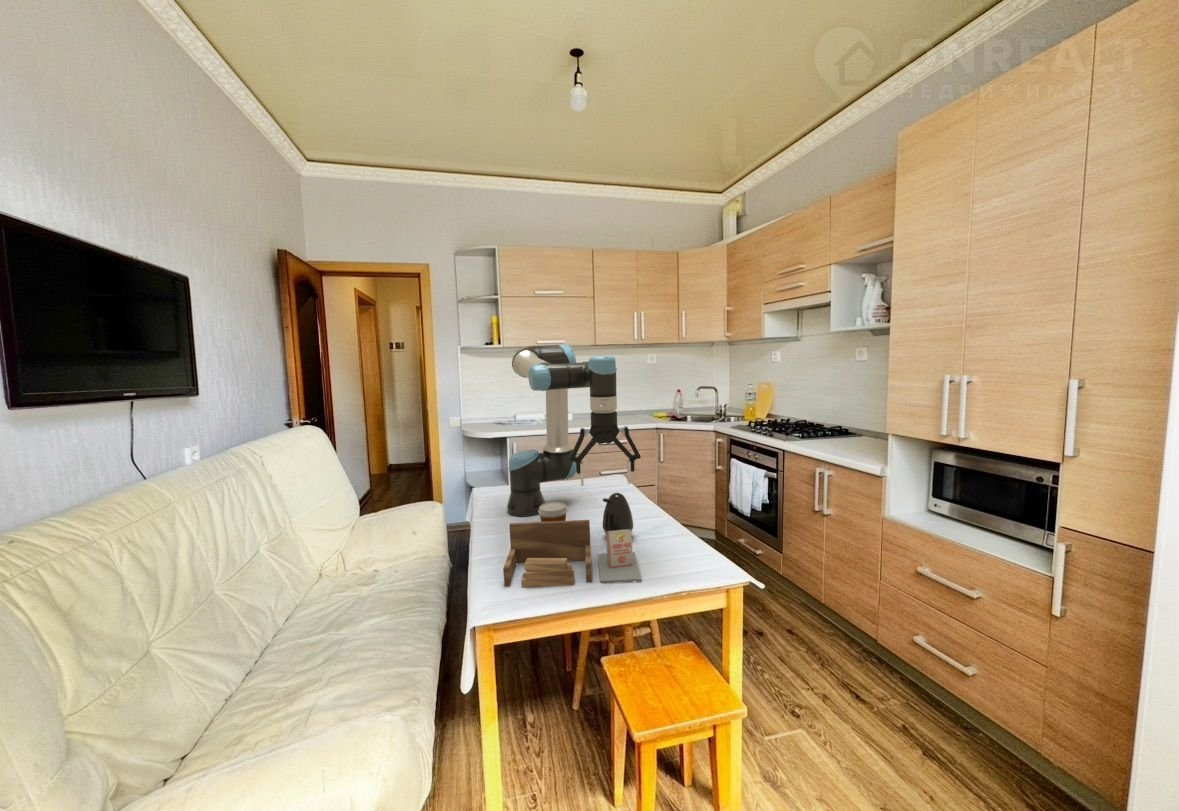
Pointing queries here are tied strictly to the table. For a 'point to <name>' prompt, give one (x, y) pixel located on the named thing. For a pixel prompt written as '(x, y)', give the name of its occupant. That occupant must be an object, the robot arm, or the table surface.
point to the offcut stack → (547, 572)
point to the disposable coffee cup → (552, 512)
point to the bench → (548, 544)
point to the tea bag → (619, 548)
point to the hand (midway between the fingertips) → (605, 483)
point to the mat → (618, 571)
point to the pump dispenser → (617, 514)
